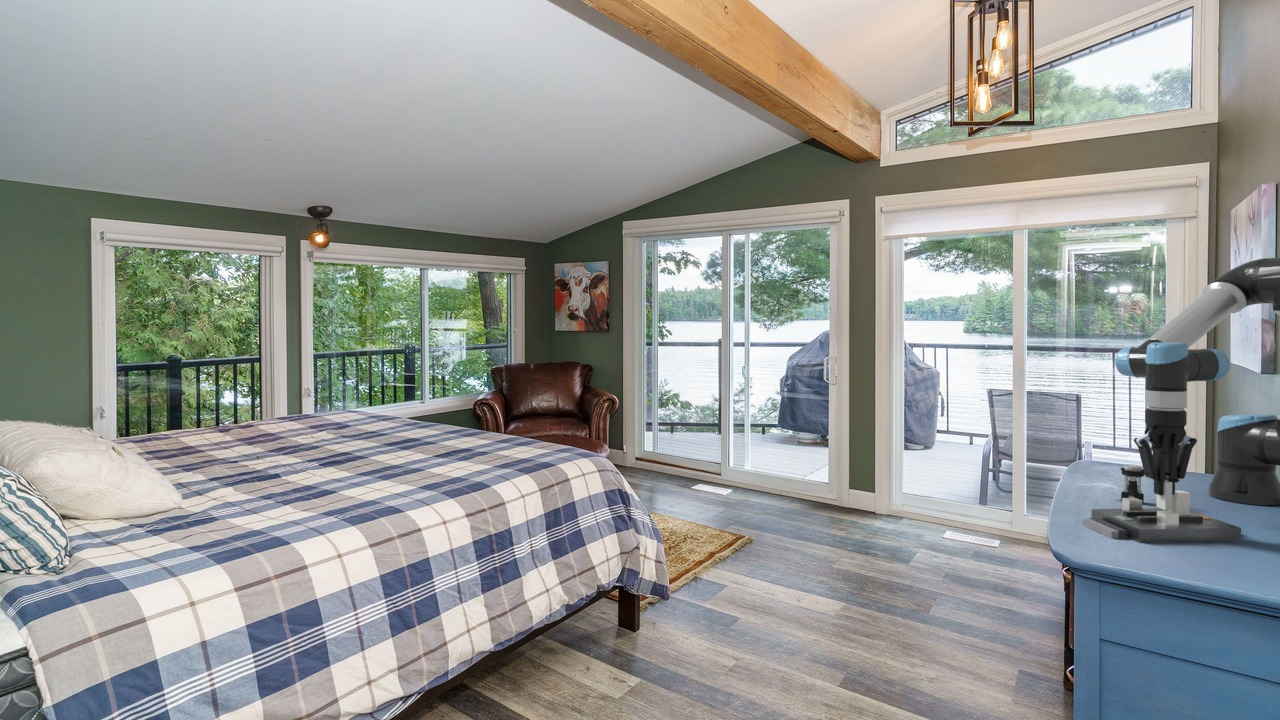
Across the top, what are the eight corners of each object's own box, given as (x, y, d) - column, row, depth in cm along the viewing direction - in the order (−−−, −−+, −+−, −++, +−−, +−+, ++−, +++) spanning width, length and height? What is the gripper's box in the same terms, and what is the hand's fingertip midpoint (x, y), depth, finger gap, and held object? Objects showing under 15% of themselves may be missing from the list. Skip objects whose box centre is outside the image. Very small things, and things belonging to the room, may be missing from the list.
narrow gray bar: (1096, 524, 157) (1096, 517, 157) (1126, 538, 147) (1126, 530, 147) (1082, 524, 157) (1082, 517, 157) (1111, 538, 147) (1111, 530, 147)
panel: (1182, 519, 159) (1182, 495, 159) (1240, 541, 143) (1241, 514, 143) (1091, 520, 160) (1091, 497, 160) (1139, 542, 144) (1139, 516, 144)
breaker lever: (1181, 515, 152) (1181, 490, 152) (1189, 518, 150) (1190, 493, 150) (1168, 515, 152) (1168, 490, 152) (1176, 518, 150) (1176, 493, 150)
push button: (1112, 501, 176) (1113, 465, 175) (1116, 497, 180) (1116, 462, 179) (1143, 506, 171) (1143, 468, 171) (1146, 501, 175) (1146, 465, 174)
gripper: (1181, 405, 154) (1179, 503, 155) (1125, 407, 154) (1124, 504, 155) (1208, 410, 146) (1206, 512, 147) (1149, 411, 147) (1147, 513, 148)
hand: (1164, 508), depth 151 cm, fingers closed
